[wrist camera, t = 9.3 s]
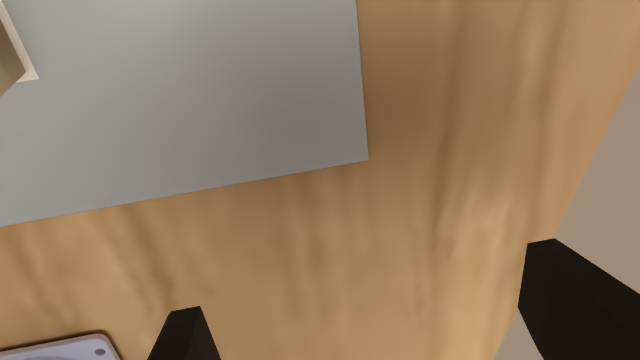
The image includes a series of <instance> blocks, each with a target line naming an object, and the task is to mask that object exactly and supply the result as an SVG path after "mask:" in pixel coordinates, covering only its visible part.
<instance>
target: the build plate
mask: <svg viewBox="0 0 640 360" xmlns="http://www.w3.org/2000/svg"><path fill="white" fill-rule="evenodd" d="M0 19H1V21H2V23H3V25H4V28H5V30H6V32H7V34H8V36H9V38H10V40H11V42H12V44H13V46H14V48H15V50H16V52H17V54H18V56H19V58H20V60H21V62H22V64H23V66H24V68H25V70H26V73H25V74H24V75H23V76H22V77H21V78H20V79H19V80H18V81H17V82H15V83H14V84H13V85H12V86H11V87H10V88H9V89H8V90H7V91H6V92H5V93H4V94H3V95H2V96H1V97H0V227H1V226H7V225H12V224H18V223H23V222H29V221H34V220H40V219H46V218H51V217H57V216H62V215H68V214H73V213H79V212H84V211H90V210H95V209H101V208H107V207H112V206H118V205H123V204H129V203H134V202H140V201H145V200H151V199H156V198H162V197H168V196H173V195H179V194H184V193H190V192H195V191H201V190H206V189H212V188H217V187H223V186H229V185H234V184H240V183H245V182H251V181H256V180H262V179H267V178H273V177H278V176H284V175H290V174H295V173H301V172H306V171H312V170H317V169H323V168H328V167H334V166H339V165H345V164H351V163H356V162H362V161H367V160H369V157H368V145H367V132H366V120H365V107H364V95H363V83H362V70H361V58H360V45H359V33H358V21H357V8H356V0H0Z"/></svg>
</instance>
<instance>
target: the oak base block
mask: <svg viewBox="0 0 640 360" xmlns="http://www.w3.org/2000/svg"><path fill="white" fill-rule="evenodd" d="M25 73H26V70H25V68H24V66H23V64H22V62H21V60H20V58H19V56H18V54H17V52H16V50H15V48H14V46H13V44H12V42H11V40H10V38H9V36H8V34H7V32H6V30H5V28H4V25H3V23H2V21H1V19H0V97H1V96H2V95H3V94H4V93H5V92H6V91H7V90H8V89H9V88H10V87H11V86H12V85H13V84H14V83H15V82H17V81H18V80H19V79H20V78H21V77H22V76H23V75H24V74H25Z"/></svg>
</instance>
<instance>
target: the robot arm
mask: <svg viewBox="0 0 640 360" xmlns="http://www.w3.org/2000/svg"><path fill="white" fill-rule="evenodd" d="M518 309H519V311H520V313H521V315H522V317H523V320H524V322H525V324H526V326H527V328H528V330H529V332H530V335H531V336H532V339H533V341H534V343H535V345H536V347H537V349H538V350H539V352H540V354H541V355H542V357H543V359H544V360H640V294H639V293H637V292H636V291H634V290H632V289H631V288H629V287H628V286H626V285H625V284H623V283H622V282H620V281H619V280H617V279H615V278H614V277H612V276H611V275H610V274H608V273H607V272H605V271H603V270H602V269H600V268H599V267H597V266H596V265H594V264H593V263H591V262H590V261H588V260H587V259H585V258H584V257H582V256H581V255H579V254H578V253H576V252H575V251H573V250H572V249H570V248H569V247H567V246H566V245H564V244H563V243H561V242H559V241H558V240H556V239H555V238H554V239H548V240H543V241H538V242H533V243H528V244H527V250H526V257H525V263H524V270H523V276H522V282H521V289H520V295H519V302H518ZM0 360H120V358H119V356H118V355H117V353H116V351H115V350H114V348H113V346H112V344H111V343H110V341H109V339H108V338H107V337H106V336H105V335H103V334H91V335H86V336H81V337H76V338H70V339H65V340H60V341H55V342H50V343H44V344H39V345H34V346H29V347H23V348H18V349H13V350H8V351H3V352H0ZM147 360H221V358H220V356H219V353H218V351H217V348H216V345H215V343H214V340H213V338H212V335H211V333H210V330H209V327H208V325H207V322H206V320H205V317H204V315H203V312H202V310H201V307H200V306H197V307H192V308H186V309H181V310H176V311H172V312H171V313H170V314H169V315H168V317H167V319H166V321H165V323H164V325H163V328H162V330H161V332H160V334H159V336H158V338H157V340H156V342H155V345H154V347H153V349H152V351H151V353H150V355H149V357H148V359H147Z"/></svg>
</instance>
